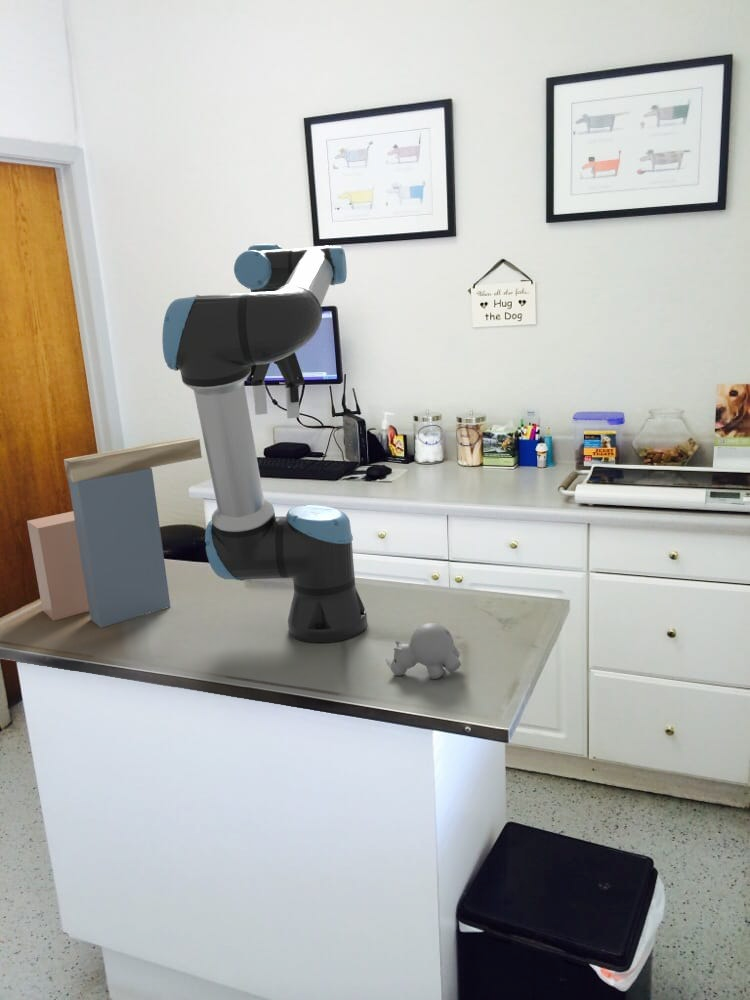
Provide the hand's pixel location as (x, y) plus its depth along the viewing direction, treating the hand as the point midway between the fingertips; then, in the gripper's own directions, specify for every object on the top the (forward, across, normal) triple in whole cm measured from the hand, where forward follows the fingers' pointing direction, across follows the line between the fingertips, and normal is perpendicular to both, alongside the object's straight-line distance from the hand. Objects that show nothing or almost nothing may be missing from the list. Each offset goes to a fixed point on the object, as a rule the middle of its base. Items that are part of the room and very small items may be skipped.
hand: (277, 416), depth 192 cm
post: (+37, +2, +37) cm, 53 cm away
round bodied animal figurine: (+38, -62, +13) cm, 74 cm away
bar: (+7, +1, +33) cm, 34 cm away
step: (+37, +15, +46) cm, 61 cm away
